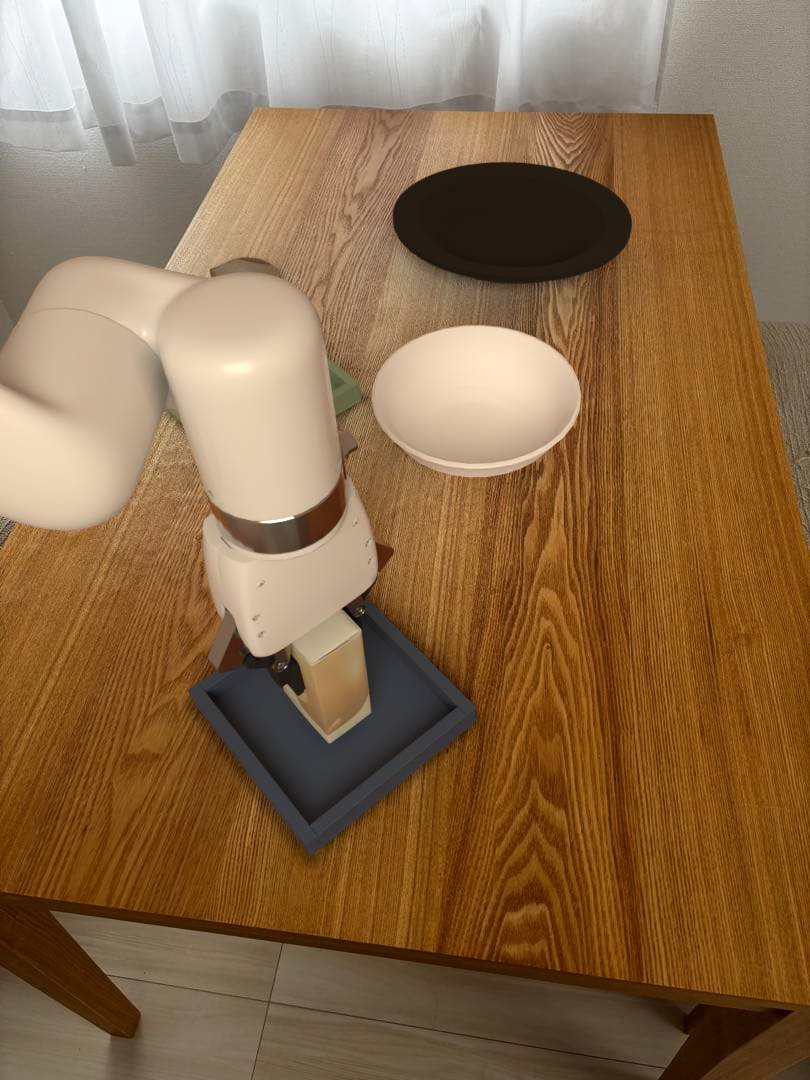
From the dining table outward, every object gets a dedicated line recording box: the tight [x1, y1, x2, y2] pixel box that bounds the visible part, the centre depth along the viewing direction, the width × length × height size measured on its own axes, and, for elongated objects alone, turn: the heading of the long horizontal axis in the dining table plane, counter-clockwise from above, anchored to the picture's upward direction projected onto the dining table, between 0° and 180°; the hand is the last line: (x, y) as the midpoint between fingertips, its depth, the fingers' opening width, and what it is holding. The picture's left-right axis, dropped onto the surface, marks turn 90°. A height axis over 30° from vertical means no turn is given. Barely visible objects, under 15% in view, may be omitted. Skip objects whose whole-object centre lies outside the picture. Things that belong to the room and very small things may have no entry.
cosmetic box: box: [283, 609, 371, 743], centre depth 63 cm, size 6×4×12 cm
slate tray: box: [187, 596, 477, 857], centre depth 68 cm, size 16×16×2 cm
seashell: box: [209, 256, 281, 278], centre depth 103 cm, size 8×3×8 cm
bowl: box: [370, 324, 582, 478], centre depth 84 cm, size 20×20×6 cm
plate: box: [392, 161, 633, 285], centre depth 104 cm, size 28×24×6 cm
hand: (318, 658), depth 62 cm, fingers closed on cosmetic box, 4 cm apart
